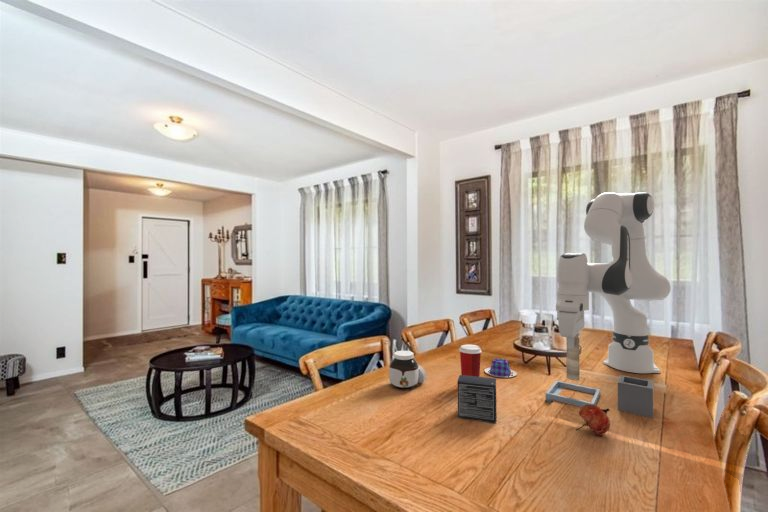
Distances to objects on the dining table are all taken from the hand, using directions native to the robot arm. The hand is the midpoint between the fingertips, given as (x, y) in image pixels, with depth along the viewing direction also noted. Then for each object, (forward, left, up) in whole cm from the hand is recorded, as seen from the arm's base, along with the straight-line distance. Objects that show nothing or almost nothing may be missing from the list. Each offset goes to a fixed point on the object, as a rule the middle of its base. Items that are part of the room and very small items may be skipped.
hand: (572, 346), depth 108 cm
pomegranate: (+20, +8, -17) cm, 27 cm away
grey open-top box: (-1, +16, -17) cm, 23 cm away
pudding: (-10, -27, -17) cm, 34 cm away
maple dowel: (0, 0, -10) cm, 10 cm away
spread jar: (+23, -48, -17) cm, 56 cm away
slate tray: (0, 0, -17) cm, 17 cm away
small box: (+30, -19, -17) cm, 39 cm away
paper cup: (+11, -30, -17) cm, 36 cm away
